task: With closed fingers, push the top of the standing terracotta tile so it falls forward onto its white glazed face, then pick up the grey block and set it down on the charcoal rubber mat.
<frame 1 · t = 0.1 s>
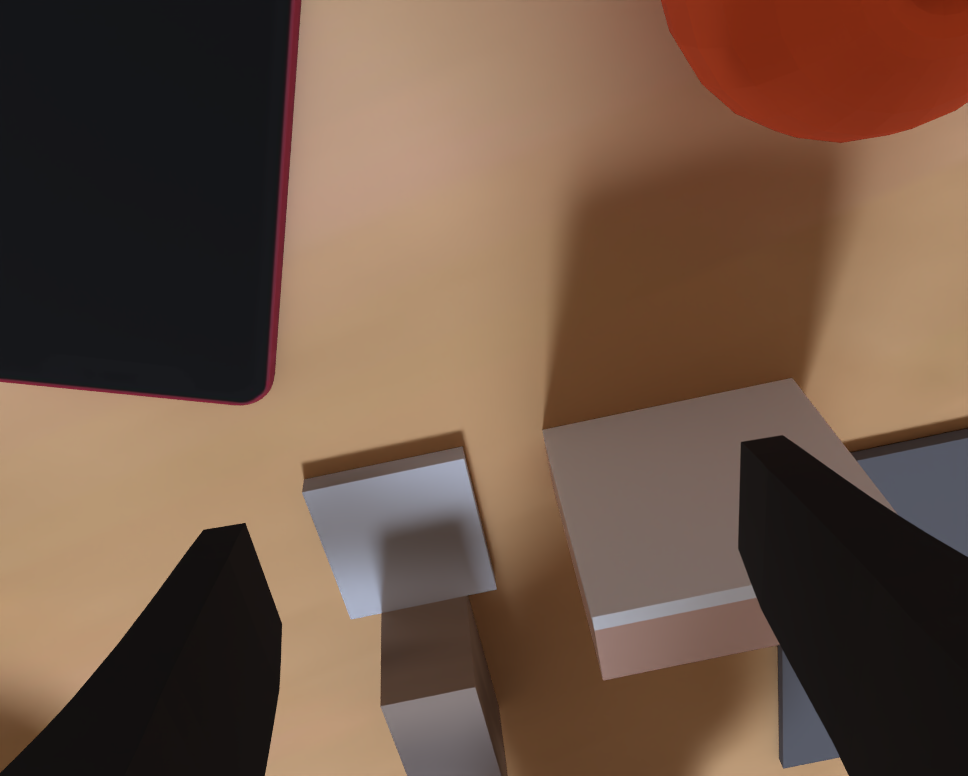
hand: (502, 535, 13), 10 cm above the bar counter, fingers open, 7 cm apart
mat: (910, 605, 29), on the bar counter
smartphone: (123, 77, 19), on the bar counter
tile: (669, 432, 25), on the bar counter
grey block: (443, 655, 28), on the bar counter
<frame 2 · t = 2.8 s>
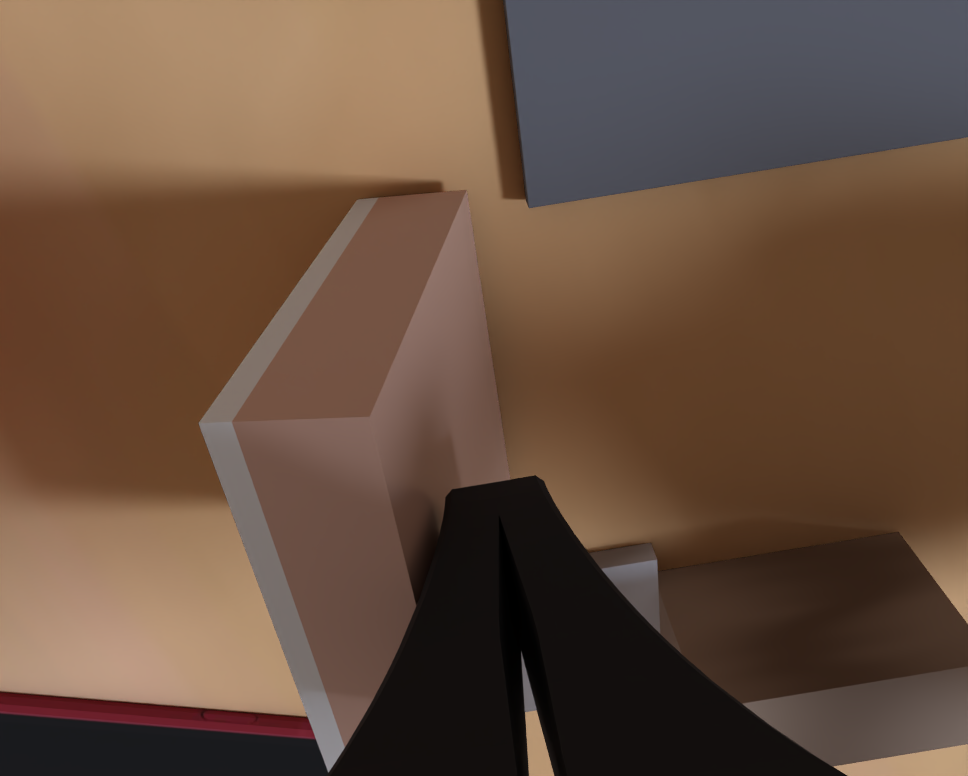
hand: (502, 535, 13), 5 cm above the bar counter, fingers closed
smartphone: (68, 769, 24), on the bar counter
tile: (442, 364, 17), on the bar counter, tilted 13°
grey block: (772, 590, 22), on the bar counter
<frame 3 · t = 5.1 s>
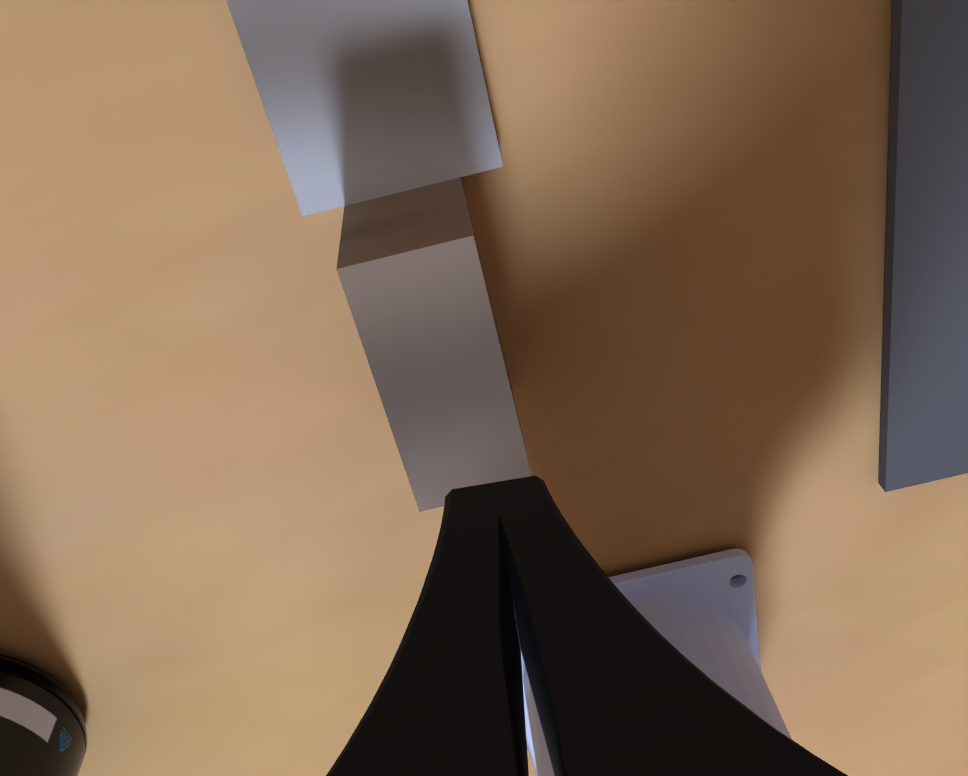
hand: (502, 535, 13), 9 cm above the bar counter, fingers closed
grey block: (435, 300, 21), on the bar counter
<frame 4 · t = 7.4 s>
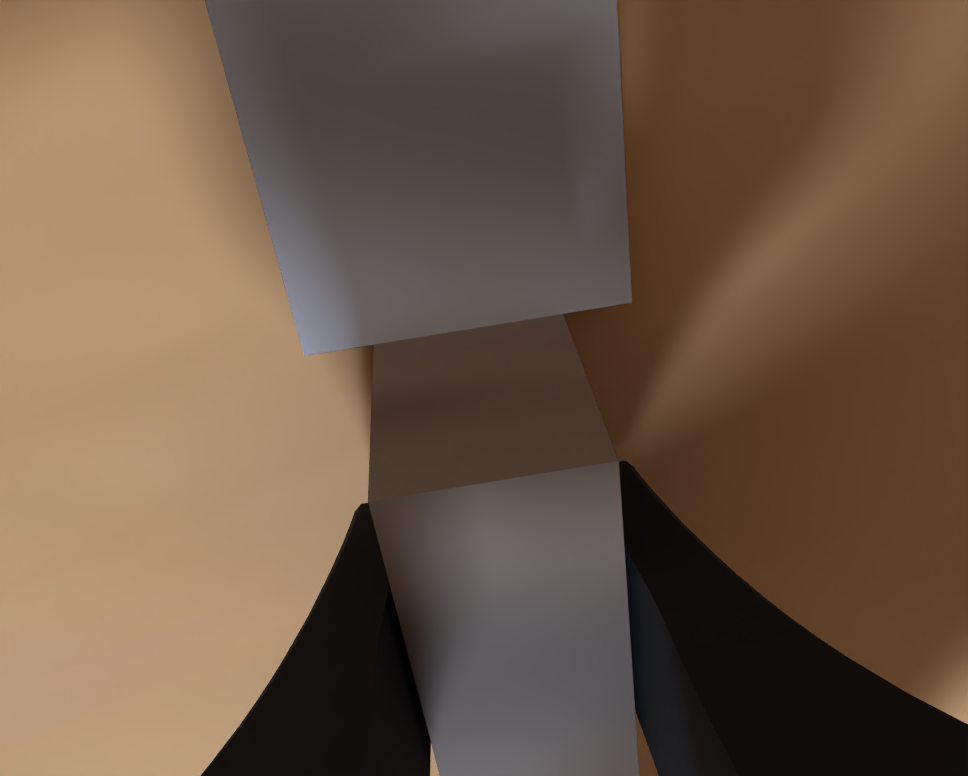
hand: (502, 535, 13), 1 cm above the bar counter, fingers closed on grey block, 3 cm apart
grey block: (492, 476, 14), on the bar counter, touching gripper
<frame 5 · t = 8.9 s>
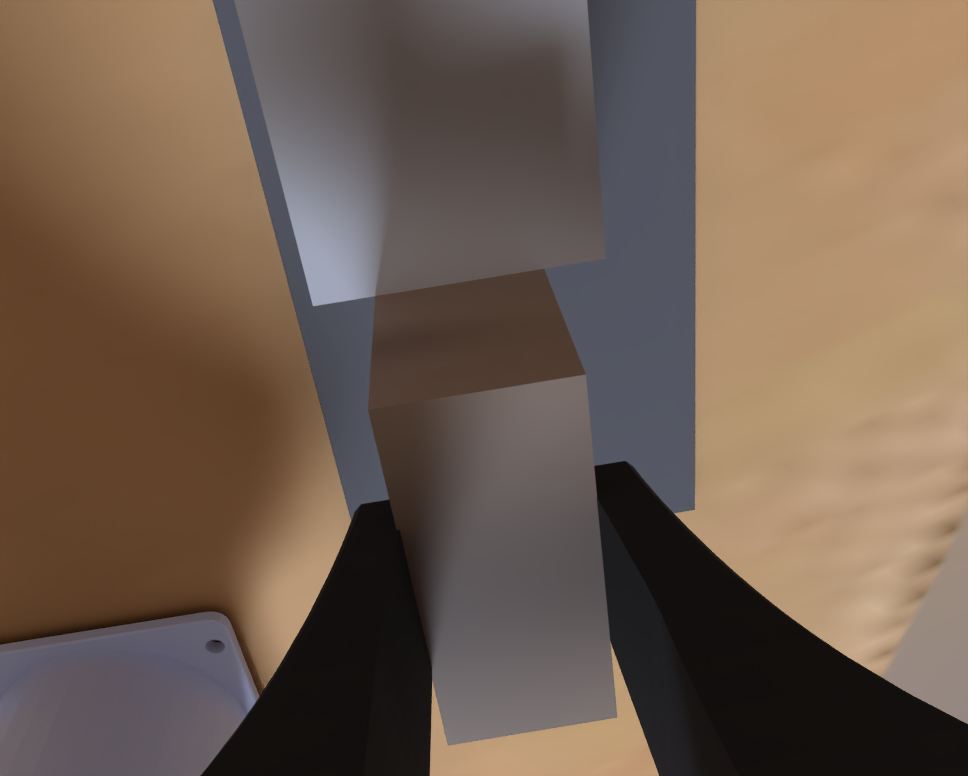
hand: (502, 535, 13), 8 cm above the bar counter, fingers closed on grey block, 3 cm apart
mat: (496, 294, 20), on the bar counter
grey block: (483, 427, 15), point 6 cm above the bar counter, touching gripper
when the fingers open (3 cm above the bar counter, at t = 10.4 s): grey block stays where it is, resting on mat.
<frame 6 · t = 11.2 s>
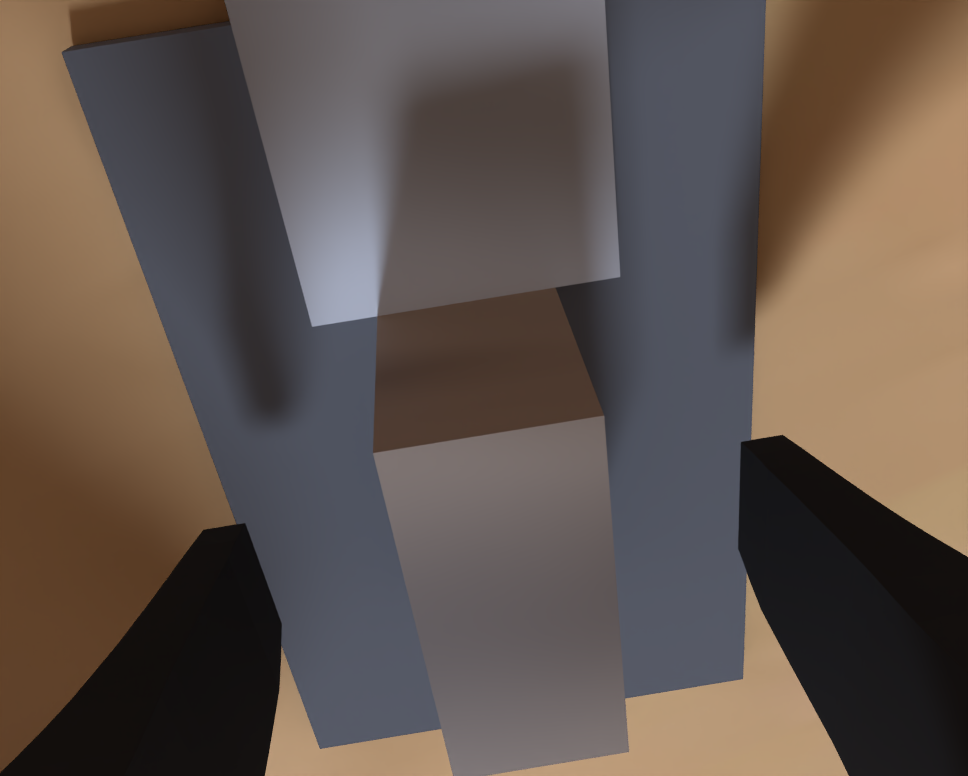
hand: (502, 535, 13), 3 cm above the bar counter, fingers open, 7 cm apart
mat: (486, 431, 15), on the bar counter
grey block: (489, 445, 15), resting on mat
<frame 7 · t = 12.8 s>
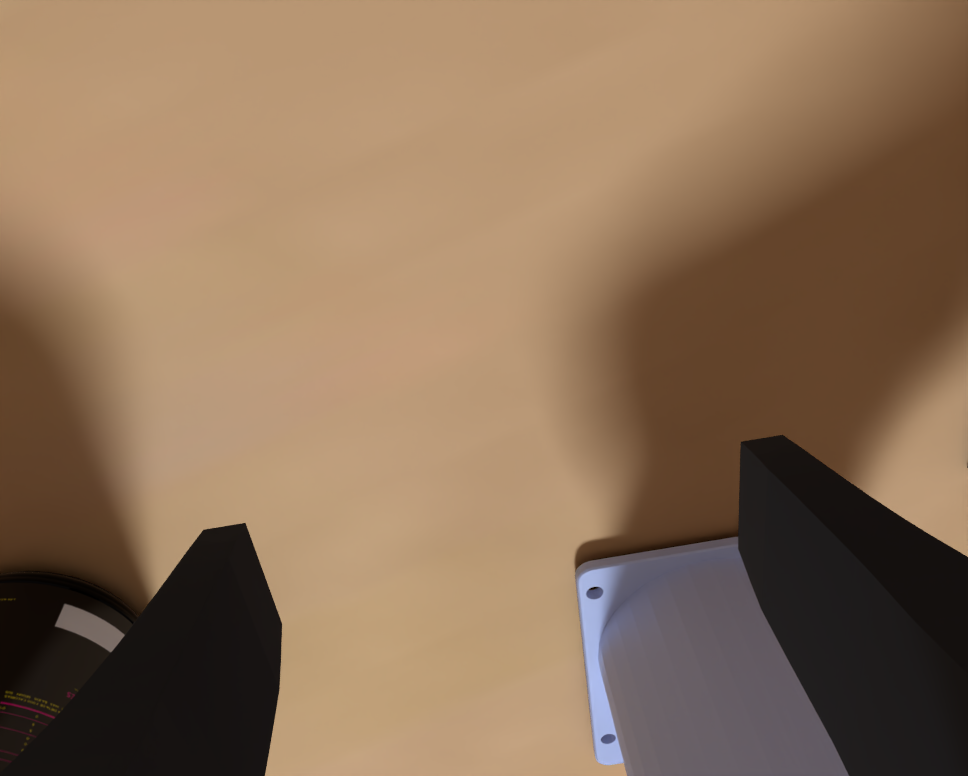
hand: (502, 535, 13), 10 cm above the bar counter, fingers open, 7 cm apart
supplement container: (51, 638, 26), on the bar counter
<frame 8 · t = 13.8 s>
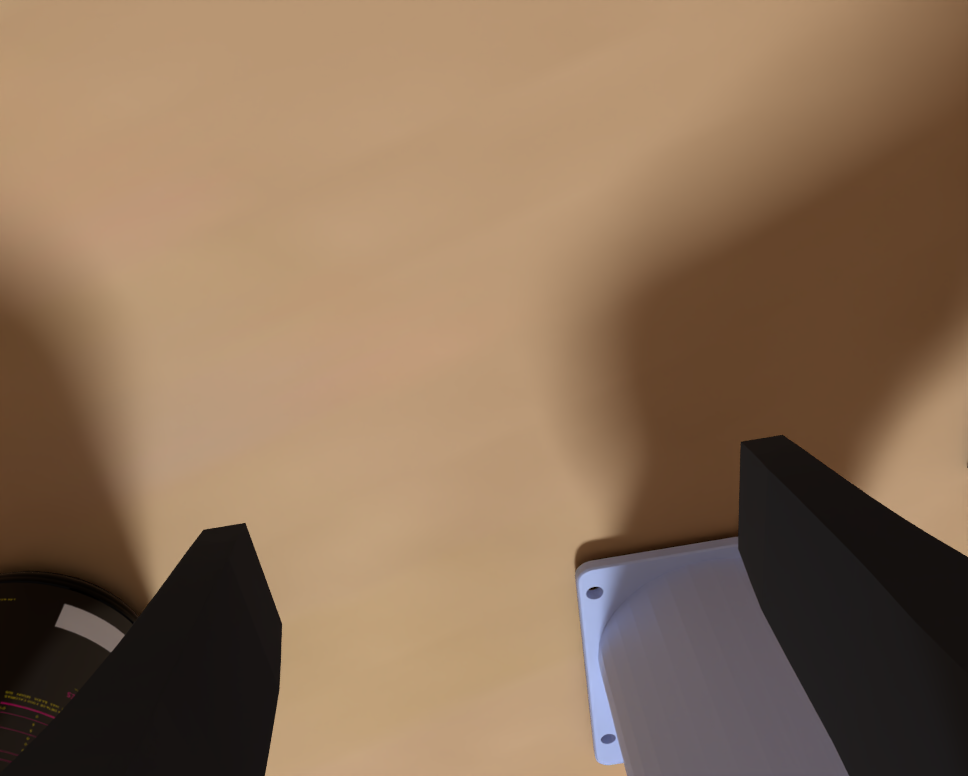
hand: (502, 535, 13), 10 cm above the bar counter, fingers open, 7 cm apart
supplement container: (51, 638, 26), on the bar counter
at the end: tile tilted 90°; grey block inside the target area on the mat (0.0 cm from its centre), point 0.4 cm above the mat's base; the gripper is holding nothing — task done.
